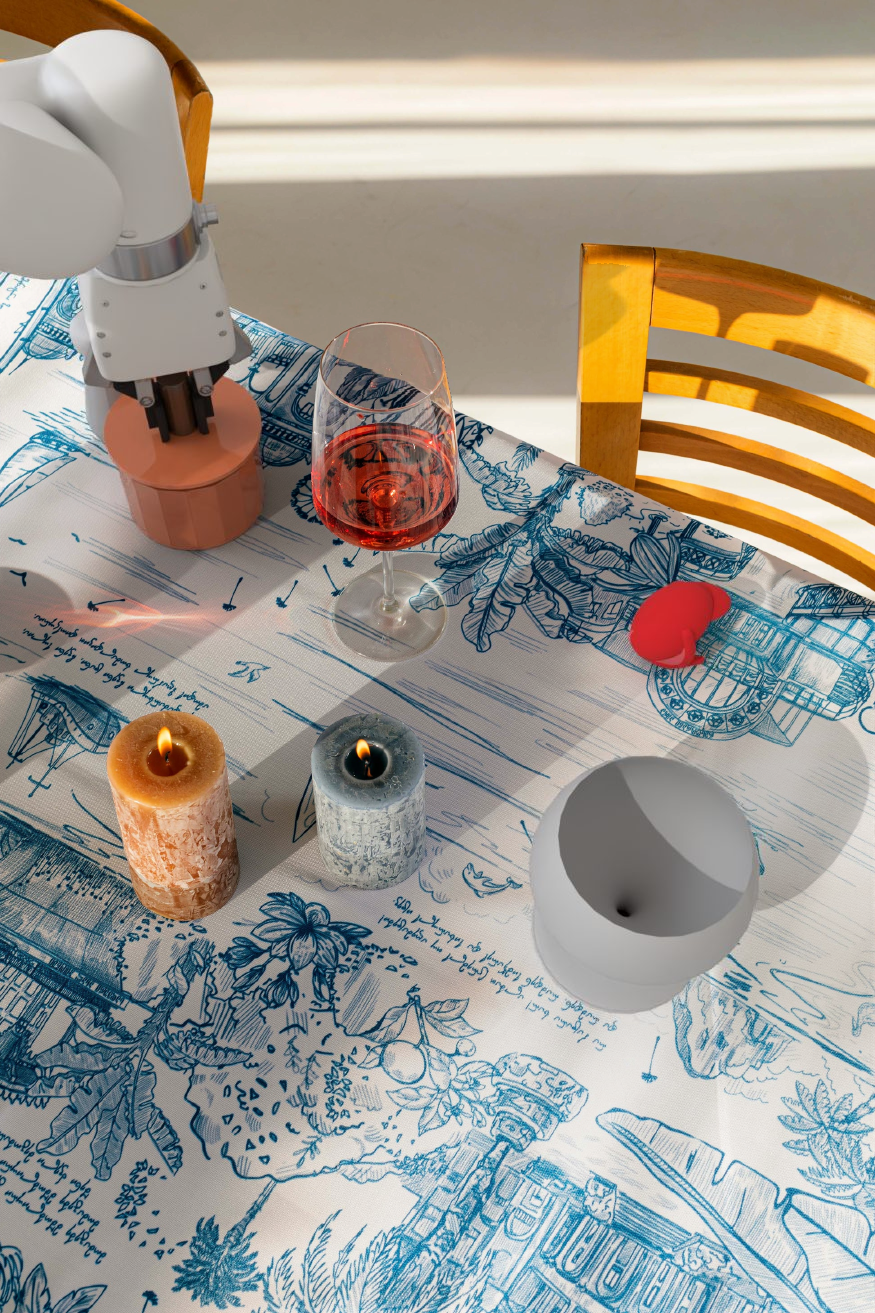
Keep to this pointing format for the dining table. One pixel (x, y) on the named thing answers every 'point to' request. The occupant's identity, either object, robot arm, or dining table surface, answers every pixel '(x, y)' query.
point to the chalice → (639, 882)
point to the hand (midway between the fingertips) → (182, 424)
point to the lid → (184, 435)
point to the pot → (199, 508)
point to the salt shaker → (95, 397)
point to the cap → (676, 622)
